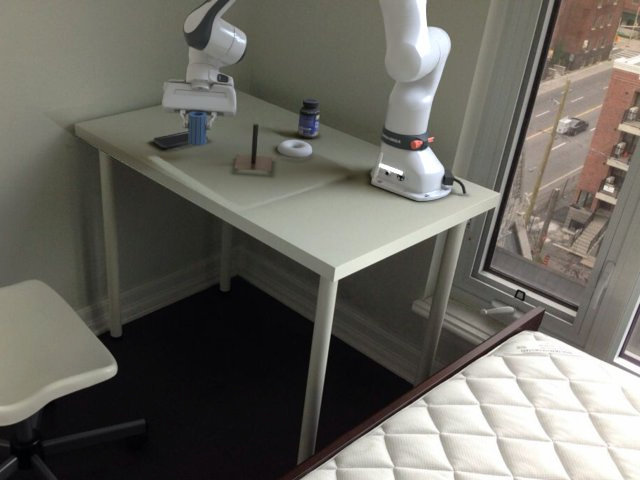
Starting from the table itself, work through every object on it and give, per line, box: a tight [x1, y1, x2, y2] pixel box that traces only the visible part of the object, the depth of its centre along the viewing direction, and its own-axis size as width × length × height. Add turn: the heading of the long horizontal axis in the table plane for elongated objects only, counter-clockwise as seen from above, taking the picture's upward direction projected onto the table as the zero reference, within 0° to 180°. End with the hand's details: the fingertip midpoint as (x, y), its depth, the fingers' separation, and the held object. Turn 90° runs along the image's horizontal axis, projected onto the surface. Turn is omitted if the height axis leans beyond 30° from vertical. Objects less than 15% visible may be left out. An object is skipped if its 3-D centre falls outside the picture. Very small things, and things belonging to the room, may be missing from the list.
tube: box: [187, 111, 208, 146], centre depth 195 cm, size 5×5×8 cm
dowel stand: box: [234, 123, 273, 172], centre depth 197 cm, size 10×10×12 cm
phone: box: [152, 131, 208, 151], centre depth 213 cm, size 8×1×15 cm
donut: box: [277, 139, 313, 158], centre depth 209 cm, size 10×4×10 cm
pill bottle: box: [297, 97, 321, 140], centre depth 221 cm, size 6×6×11 cm
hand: (197, 128), depth 195 cm, fingers closed on tube, 5 cm apart
